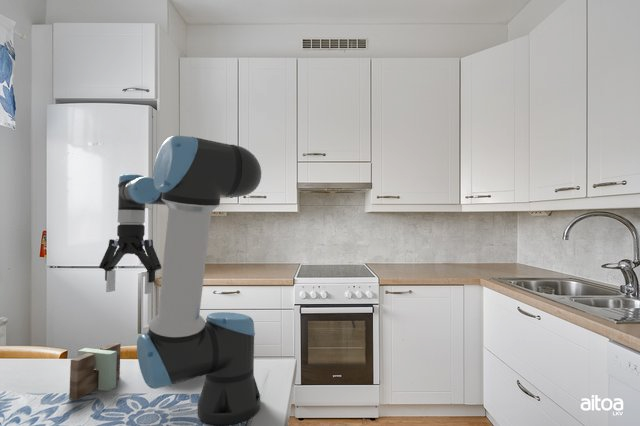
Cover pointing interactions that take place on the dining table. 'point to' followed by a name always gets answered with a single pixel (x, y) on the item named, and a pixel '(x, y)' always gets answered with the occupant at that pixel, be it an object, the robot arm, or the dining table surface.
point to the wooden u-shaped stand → (88, 372)
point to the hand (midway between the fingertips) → (129, 292)
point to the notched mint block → (103, 367)
